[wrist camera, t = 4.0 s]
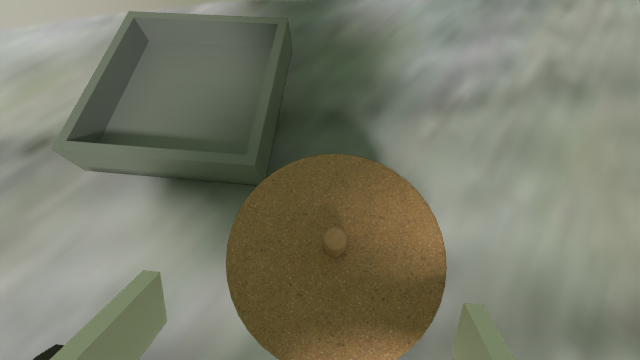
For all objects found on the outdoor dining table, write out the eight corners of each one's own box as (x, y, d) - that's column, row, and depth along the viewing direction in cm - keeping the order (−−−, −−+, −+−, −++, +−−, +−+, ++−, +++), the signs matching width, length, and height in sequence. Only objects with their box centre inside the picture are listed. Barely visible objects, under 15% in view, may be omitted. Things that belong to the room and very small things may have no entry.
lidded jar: (228, 269, 22) (165, 234, 14) (334, 176, 25) (336, 101, 17) (331, 400, 18) (333, 464, 10) (440, 274, 21) (512, 242, 13)
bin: (292, 49, 31) (287, 18, 28) (264, 185, 25) (254, 165, 22) (148, 41, 33) (128, 11, 29) (84, 170, 26) (51, 149, 23)
